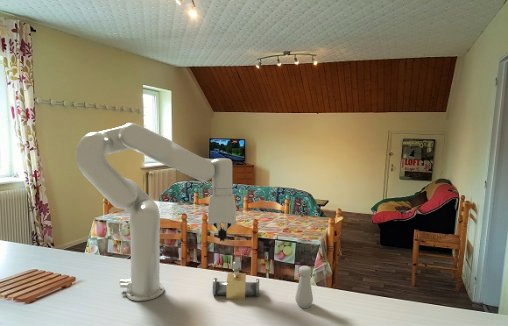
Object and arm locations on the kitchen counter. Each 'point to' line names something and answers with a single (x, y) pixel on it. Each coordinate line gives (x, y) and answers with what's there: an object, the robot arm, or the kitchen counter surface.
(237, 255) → the valve lever
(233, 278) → the valve pipe
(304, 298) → the salt shaker
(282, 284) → the kitchen counter surface
